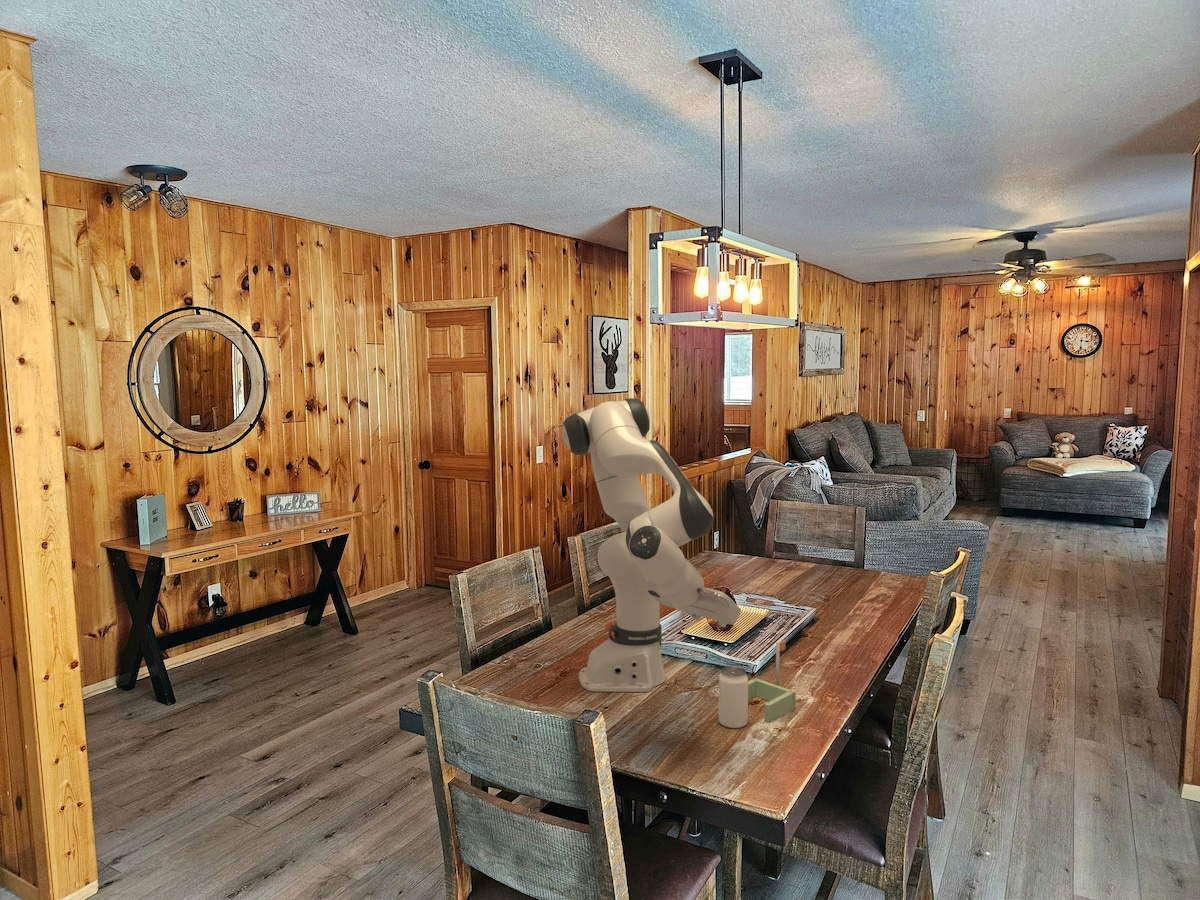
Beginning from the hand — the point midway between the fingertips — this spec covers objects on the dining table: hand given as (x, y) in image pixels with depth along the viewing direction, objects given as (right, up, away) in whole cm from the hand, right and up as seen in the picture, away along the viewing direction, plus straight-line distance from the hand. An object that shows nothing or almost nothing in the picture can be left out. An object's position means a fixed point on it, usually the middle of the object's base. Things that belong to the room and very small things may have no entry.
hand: (710, 620), depth 169 cm
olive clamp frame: (+16, -24, +16) cm, 33 cm away
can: (+6, -25, +7) cm, 27 cm away
